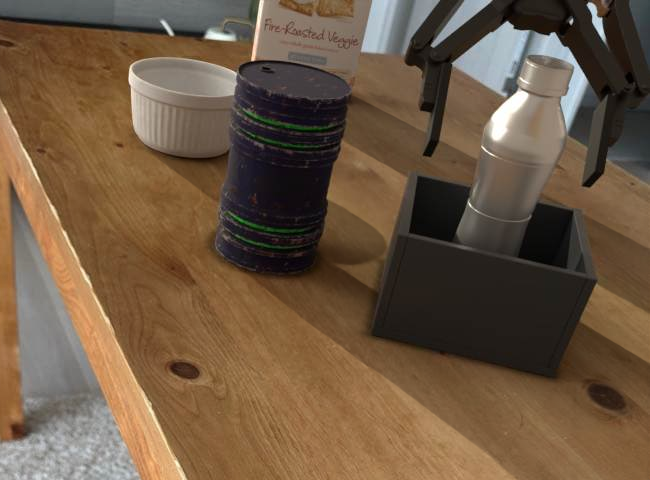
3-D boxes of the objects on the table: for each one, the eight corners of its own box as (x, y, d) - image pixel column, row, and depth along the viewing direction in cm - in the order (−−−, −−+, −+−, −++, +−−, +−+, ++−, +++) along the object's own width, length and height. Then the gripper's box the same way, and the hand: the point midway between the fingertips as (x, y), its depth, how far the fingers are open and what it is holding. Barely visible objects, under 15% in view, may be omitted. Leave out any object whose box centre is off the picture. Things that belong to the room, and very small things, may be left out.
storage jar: (336, 254, 84) (374, 87, 74) (282, 286, 77) (316, 107, 67) (251, 217, 87) (276, 53, 77) (192, 245, 81) (211, 69, 71)
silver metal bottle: (413, 298, 78) (488, 50, 64) (460, 283, 81) (541, 46, 68) (468, 333, 74) (560, 79, 61) (515, 315, 78) (611, 73, 65)
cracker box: (250, 89, 118) (276, -100, 103) (248, 75, 122) (273, -108, 108) (351, 104, 119) (391, -80, 105) (346, 90, 124) (383, -88, 110)
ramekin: (102, 126, 99) (104, 59, 95) (191, 114, 107) (198, 52, 102) (174, 171, 93) (180, 101, 88) (264, 155, 100) (274, 90, 96)
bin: (544, 299, 83) (582, 209, 77) (553, 377, 73) (598, 280, 67) (384, 262, 84) (409, 170, 78) (370, 334, 73) (398, 234, 67)
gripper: (676, -23, 77) (638, 211, 76) (397, -78, 76) (355, 157, 75) (725, -88, 69) (683, 171, 68) (416, -149, 69) (370, 111, 68)
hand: (511, 165), depth 72 cm, fingers open, 13 cm apart
